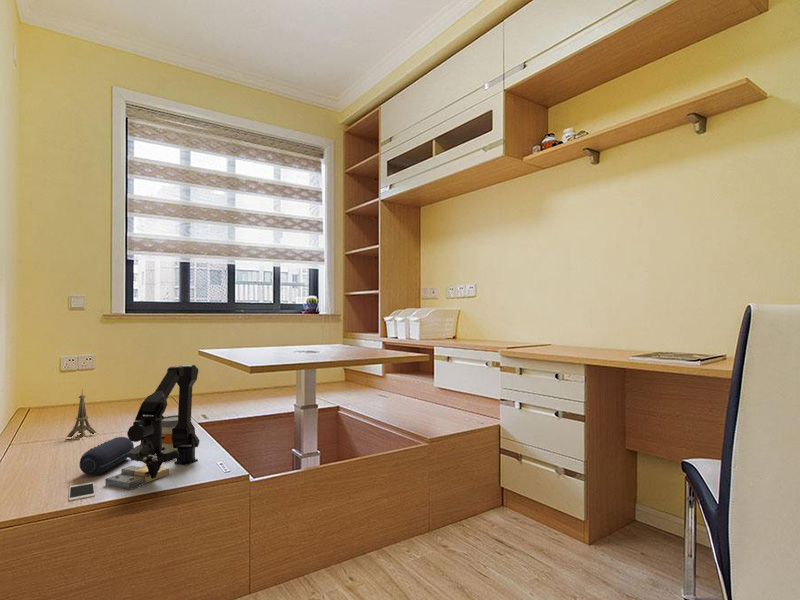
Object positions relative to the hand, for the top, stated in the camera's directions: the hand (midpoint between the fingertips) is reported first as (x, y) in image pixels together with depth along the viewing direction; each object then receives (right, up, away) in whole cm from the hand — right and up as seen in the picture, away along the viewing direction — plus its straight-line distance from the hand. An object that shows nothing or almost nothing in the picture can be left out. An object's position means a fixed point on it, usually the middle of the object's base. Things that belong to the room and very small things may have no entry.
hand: (153, 478), depth 168 cm
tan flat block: (-6, -2, +6) cm, 8 cm away
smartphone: (-20, -2, -8) cm, 22 cm away
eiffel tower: (-72, -5, +67) cm, 98 cm away
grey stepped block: (-8, -2, 0) cm, 8 cm away
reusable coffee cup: (-11, -3, +38) cm, 39 cm away
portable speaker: (-28, -3, +17) cm, 33 cm away
